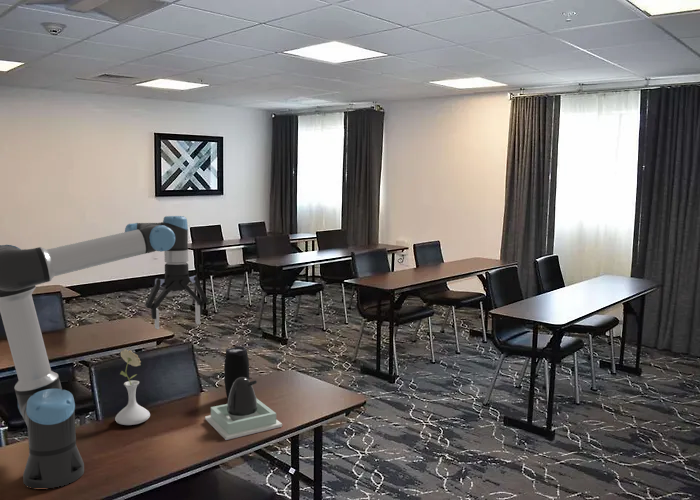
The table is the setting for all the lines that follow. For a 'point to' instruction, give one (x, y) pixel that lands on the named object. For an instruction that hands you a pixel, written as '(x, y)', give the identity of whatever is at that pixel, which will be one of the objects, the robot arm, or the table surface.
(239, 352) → the portable speaker
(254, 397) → the black rounded tall piece
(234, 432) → the holder
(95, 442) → the table surface
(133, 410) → the flower in vase
